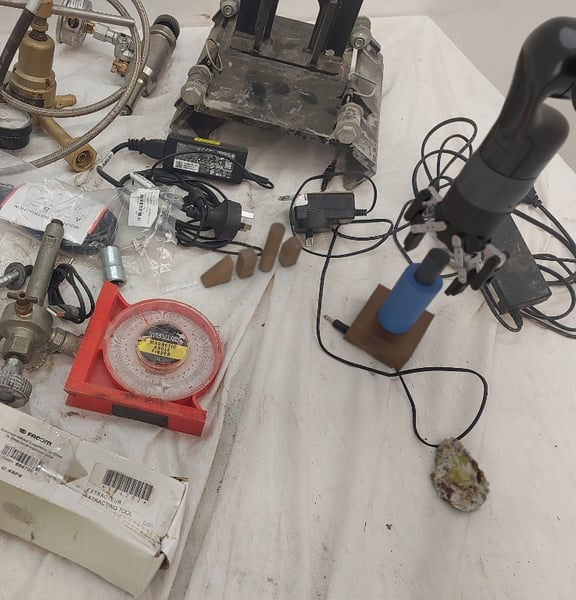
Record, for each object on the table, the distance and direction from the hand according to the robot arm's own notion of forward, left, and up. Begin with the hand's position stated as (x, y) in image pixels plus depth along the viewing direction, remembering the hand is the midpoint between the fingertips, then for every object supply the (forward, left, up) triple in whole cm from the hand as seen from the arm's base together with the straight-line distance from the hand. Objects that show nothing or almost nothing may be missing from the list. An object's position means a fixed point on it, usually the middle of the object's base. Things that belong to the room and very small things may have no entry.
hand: (429, 270), depth 82 cm
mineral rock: (-23, +6, -18) cm, 30 cm away
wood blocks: (+22, +17, -18) cm, 33 cm away
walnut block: (0, 0, -18) cm, 18 cm away
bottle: (0, 0, -13) cm, 13 cm away
